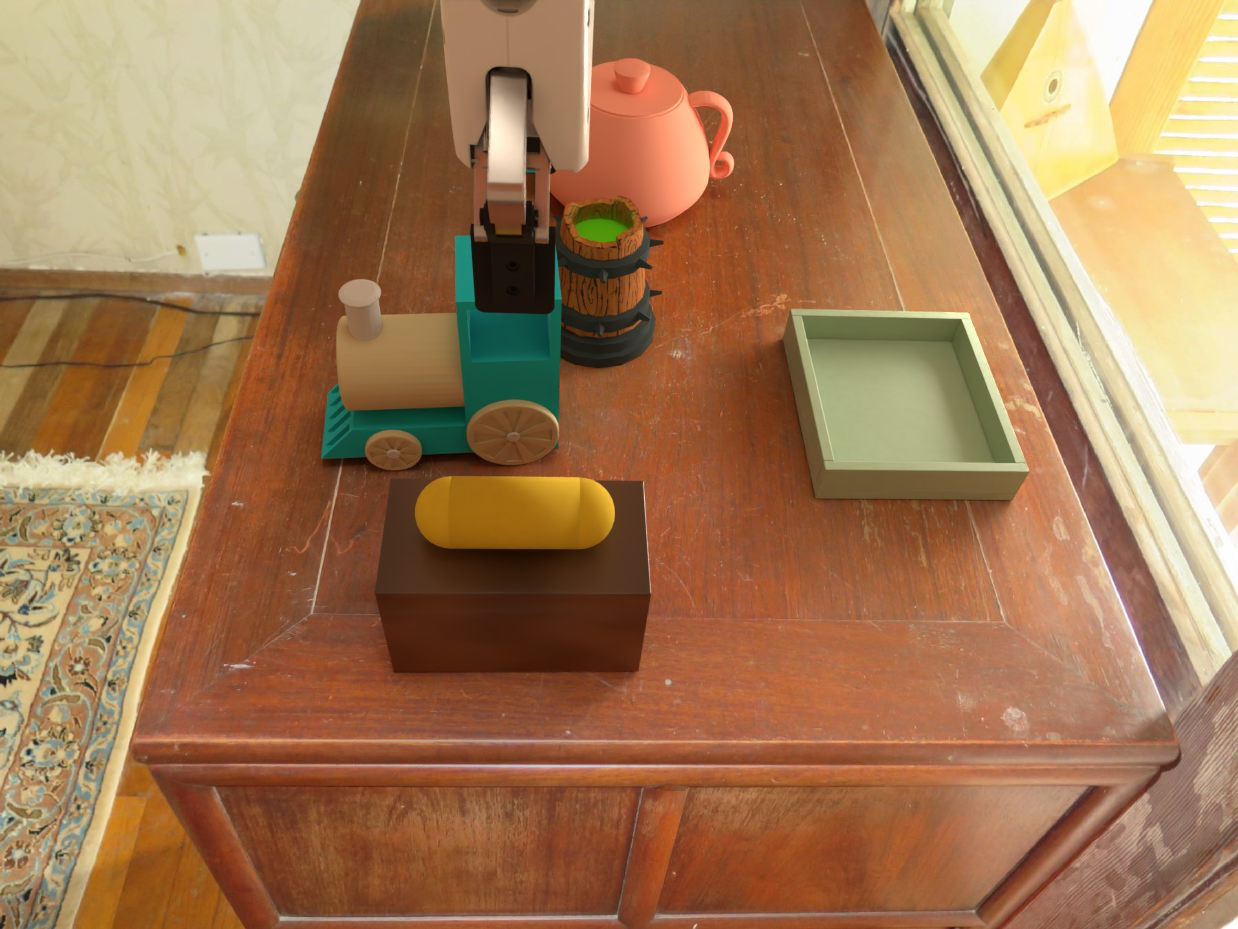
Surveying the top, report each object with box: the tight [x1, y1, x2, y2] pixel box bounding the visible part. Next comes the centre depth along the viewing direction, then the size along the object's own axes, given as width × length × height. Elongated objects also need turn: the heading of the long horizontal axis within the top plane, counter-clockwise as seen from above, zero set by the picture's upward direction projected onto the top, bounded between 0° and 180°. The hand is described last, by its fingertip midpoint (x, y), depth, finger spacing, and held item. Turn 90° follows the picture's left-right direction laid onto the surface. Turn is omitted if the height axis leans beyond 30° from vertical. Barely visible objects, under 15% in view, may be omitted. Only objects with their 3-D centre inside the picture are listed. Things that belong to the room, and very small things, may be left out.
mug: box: [551, 195, 665, 369], centre depth 76 cm, size 13×10×12 cm
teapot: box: [550, 57, 735, 229], centre depth 88 cm, size 22×16×12 cm
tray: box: [782, 308, 1030, 501], centre depth 75 cm, size 17×15×3 cm
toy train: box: [320, 234, 562, 471], centre depth 67 cm, size 8×17×15 cm, turn 96°
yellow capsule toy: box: [415, 475, 615, 549], centre depth 55 cm, size 11×4×4 cm, turn 92°
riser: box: [374, 477, 652, 673], centre depth 60 cm, size 15×8×9 cm, turn 92°
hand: (519, 234), depth 43 cm, fingers open, 9 cm apart
